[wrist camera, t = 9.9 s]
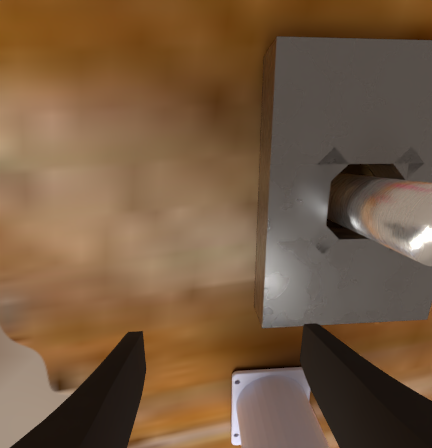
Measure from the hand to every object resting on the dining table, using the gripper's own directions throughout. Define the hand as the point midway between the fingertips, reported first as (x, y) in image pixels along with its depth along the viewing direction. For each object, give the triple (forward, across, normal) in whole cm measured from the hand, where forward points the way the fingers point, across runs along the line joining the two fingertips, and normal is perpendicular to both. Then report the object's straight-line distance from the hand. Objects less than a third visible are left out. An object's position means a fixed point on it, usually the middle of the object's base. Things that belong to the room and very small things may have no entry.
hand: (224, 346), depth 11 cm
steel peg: (+10, -11, -5) cm, 16 cm away
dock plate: (+10, -11, -5) cm, 16 cm away
